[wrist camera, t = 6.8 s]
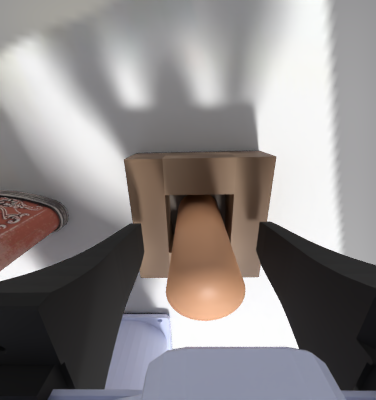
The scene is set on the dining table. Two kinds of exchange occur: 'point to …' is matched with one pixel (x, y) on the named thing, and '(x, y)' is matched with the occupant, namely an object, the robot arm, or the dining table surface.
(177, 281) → the pin
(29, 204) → the lighter
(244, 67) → the dining table surface
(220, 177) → the hole block
